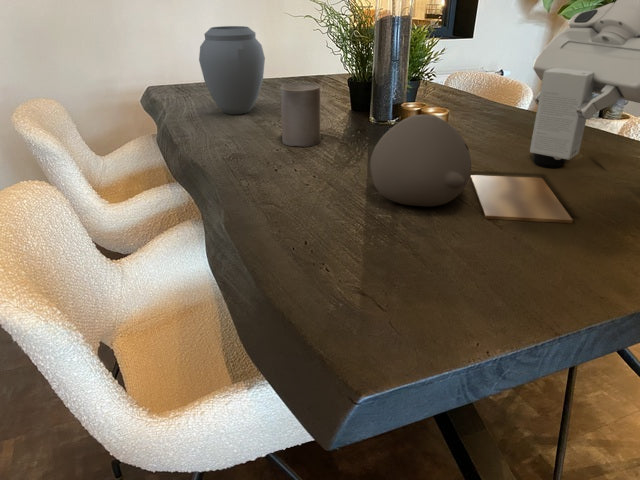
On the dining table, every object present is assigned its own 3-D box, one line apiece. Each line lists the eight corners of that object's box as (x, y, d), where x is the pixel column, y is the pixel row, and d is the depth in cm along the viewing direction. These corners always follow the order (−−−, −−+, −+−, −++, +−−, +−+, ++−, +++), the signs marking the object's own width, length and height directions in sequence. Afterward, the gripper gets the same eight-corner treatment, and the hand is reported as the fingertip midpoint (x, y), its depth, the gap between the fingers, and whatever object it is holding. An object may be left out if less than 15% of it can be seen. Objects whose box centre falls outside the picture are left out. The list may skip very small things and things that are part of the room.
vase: (275, 106, 160) (271, 25, 148) (255, 120, 143) (249, 30, 132) (220, 103, 164) (212, 24, 152) (194, 117, 147) (183, 29, 136)
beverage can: (542, 169, 104) (554, 113, 99) (526, 159, 110) (536, 106, 104) (570, 167, 105) (584, 111, 100) (552, 158, 111) (564, 104, 105)
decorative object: (366, 178, 100) (369, 104, 93) (454, 178, 100) (463, 103, 93) (373, 215, 84) (377, 129, 77) (478, 215, 84) (492, 129, 77)
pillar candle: (307, 134, 130) (306, 75, 123) (328, 143, 122) (328, 81, 115) (275, 140, 125) (272, 79, 118) (294, 149, 118) (292, 85, 111)
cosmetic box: (579, 153, 74) (599, 71, 68) (569, 160, 71) (589, 75, 65) (538, 146, 77) (554, 67, 72) (527, 152, 75) (543, 70, 69)
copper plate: (541, 180, 98) (542, 177, 98) (572, 223, 81) (573, 220, 81) (470, 177, 100) (470, 174, 100) (485, 218, 83) (485, 215, 82)
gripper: (708, 58, 62) (628, 141, 64) (582, 42, 79) (522, 108, 81) (694, 21, 59) (610, 110, 60) (566, 13, 76) (503, 83, 78)
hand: (559, 109), depth 71 cm, fingers closed on cosmetic box, 7 cm apart
